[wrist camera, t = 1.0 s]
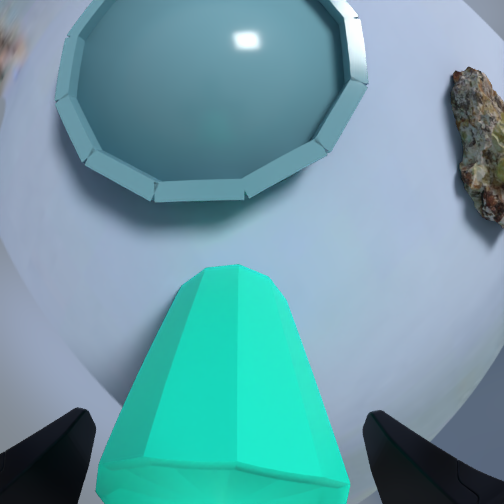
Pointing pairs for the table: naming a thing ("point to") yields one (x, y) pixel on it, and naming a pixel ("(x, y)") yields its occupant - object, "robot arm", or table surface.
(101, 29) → the dish
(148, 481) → the candle
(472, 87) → the mineral rock
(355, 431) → the table surface
